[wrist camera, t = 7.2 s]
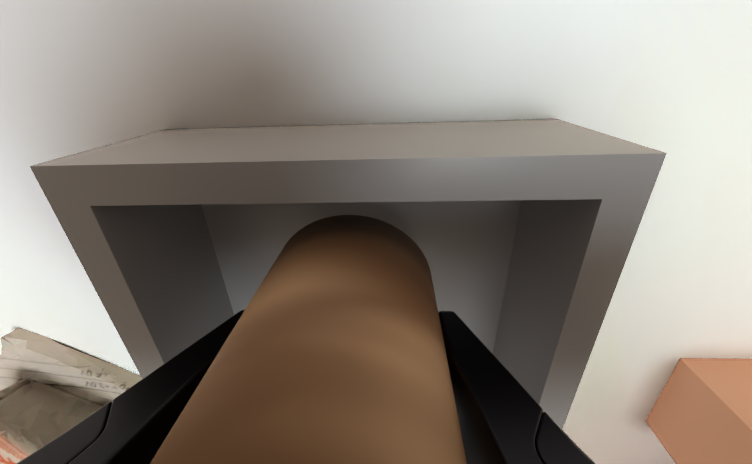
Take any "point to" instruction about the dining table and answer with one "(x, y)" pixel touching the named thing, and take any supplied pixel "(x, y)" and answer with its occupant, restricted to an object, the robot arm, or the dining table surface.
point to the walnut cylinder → (329, 361)
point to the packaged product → (49, 391)
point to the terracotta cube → (706, 412)
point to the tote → (372, 199)
